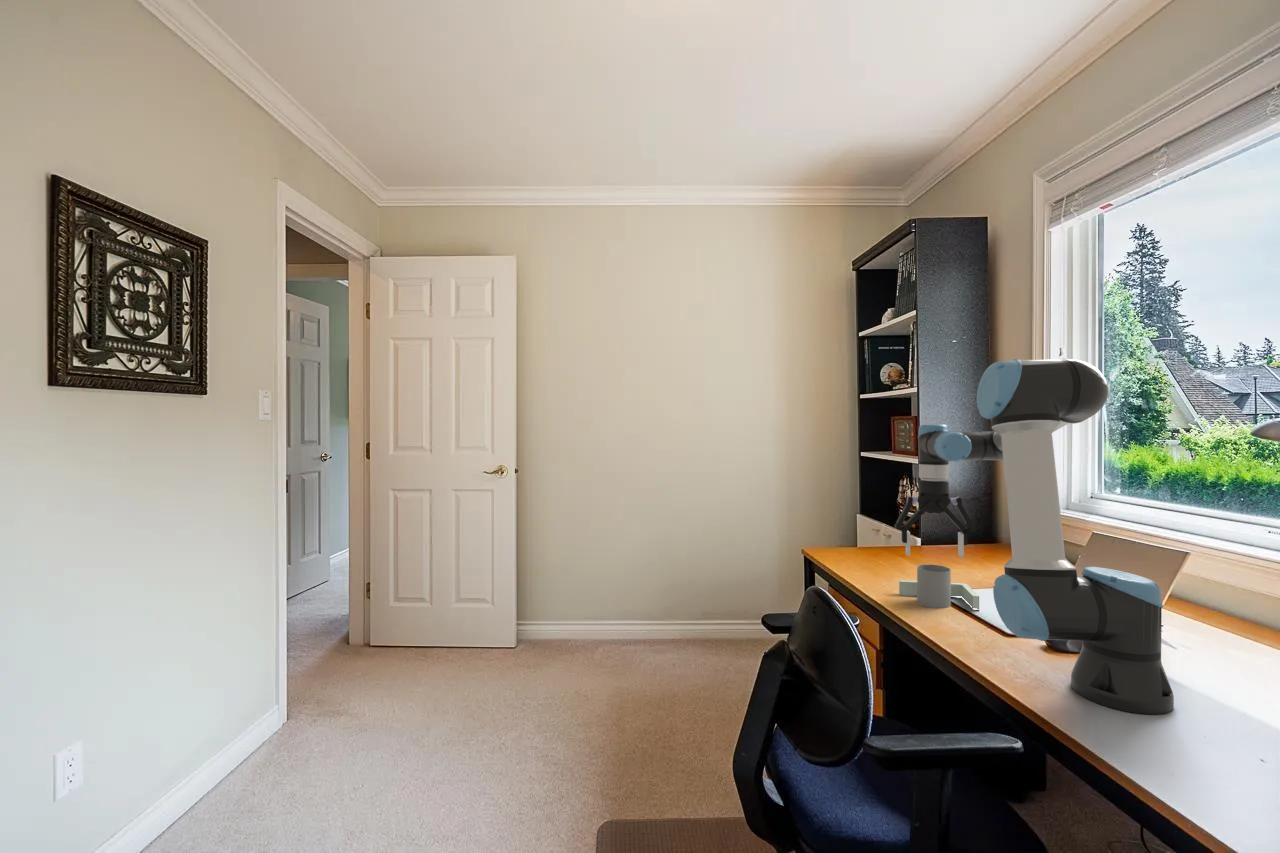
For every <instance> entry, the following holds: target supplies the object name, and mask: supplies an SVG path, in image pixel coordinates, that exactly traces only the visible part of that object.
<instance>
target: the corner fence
mask: <svg viewBox="0 0 1280 853" xmlns="http://www.w3.org/2000/svg"><path fill="white" fill-rule="evenodd" d="M898 595H899V596H909V597H917V580H904V579H903V580H902V579H899V580H898ZM951 596H962V597H963V598H964V599H965V600H966V601H967V602H968V603H969V604H970V605H971V606H972V608H977V609H979V610H980V595H979V594H978V593H977V592H975V591H974V590H973V589H972V588H971V587H970V586H969V585H968V584H967V583H962V582H961V583H960V582H951Z"/></svg>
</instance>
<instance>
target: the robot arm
mask: <svg viewBox="0 0 1280 853" xmlns="http://www.w3.org/2000/svg"><path fill="white" fill-rule="evenodd" d="M1108 397H1109V386H1108V382H1107V380H1106V378H1105V375H1103V374H1102V372H1101V371H1100V370H1099V369H1098V368H1097V367H1095V365H1092V364H1090V363H1088V362H1086V361H1082V360H1078V359H1073V358H1072V359H1071V358H1070V359H1069V358H1064V359H1018V358H1017V359H1015V358H1014V359H1013V360H1012V359H1011V360H1002V361H1000V360H999V361H996V362H995V361H994V363H992V364H990V365H989V366H988V367H987V368H986V369H985V371H984V372H983V374H982V376H981V378H980V380H979V383H978V387H977V392H976V407H977V410H978V412H979V415H980V417H981V418H984V419H987V420H990V425H991V431H989V430H988V431H986V430H985V431H980V430H979V431H956V430H955V431H949V427H948V425H947V424H941V423H940V424H936V423H934V424H921V425H919V427H918V435H917V439H918V441H917V442H918V478H919V480H918V496H917V497H914V496H910V495H908V496H906V501H905V505H904V506H903V508H902V510H901V512H900V514H899V515H898V518H897V519H896V522H895V523H894V525H893V526H894V528H895V529H897V530H900V531H901V542H902V544H905V555H907V556H908V557H909V556H911V532H910V531H909V530H910V528H911V527H912V526H913V525H914V524H915V523H916V522H918V520H919V519H920V518H921V517H922V516H923V515H924V514H925V513H928V514H933V513H935V514H942V513H944V514H945V516H947V517H948V518H949V519H950V521H951V522H952V523H953V524H954V525H955V526H956V527H957V528H958V529H959V530H960V531H958V532H957V556H958V557H959V558H965V549H964V548H965V546H967V545H968V544H969V542H968V540H969V538H968V536H969V535H968V534H969V533H972V532H975V531H976V528H975V526H974V524H973V522H972V521H971V520H972V519H970V516H969V515H968V513H967V511H966V509H965V508H964V506H963V500H962V498H961V497H959V496H955V497H950V494H949V493H950V491H949V490H950V489H949V488H950V485H949V484H950V482H949V481H948V480H947V479H949V478H950V476H949V473H950V472H949V471H950V470H949V464H950V463H949V462H960V461H1003V462H1002V463H1003V471H1004V480H1005V481H1004V482H1005V492H1006V501H1007V502H1006V503H1007V505H1006V506H1007V514H1008V515H1007V516H1008V523H1009V524H1008V526H1009V535H1010V545H1011V546H1010V547H1011V557H1010V559H1009V560H1007V561H1006V563H1004V565H1003V566H1004V567H1003V568H1004V574H1001V575H999V576H998V577H996V578H995V580H994V585H993V588H992V594H993V601H994V604H995V607H996V612H998V616H999V618H1000V619H1001V622H1002V623H1003V624H1004V626H1005V627H1006V628H1007V629H1008V631H1009V632H1010V633H1012V634H1013V635H1014V636H1016V637H1018V638H1021V639H1027V640H1037V641H1038V640H1039V641H1041V642H1044V641H1050V640H1051V641H1080V642H1081V644H1082V645H1081V649H1080V652H1079V654H1078V656H1077V659H1076V661H1075V662H1074V666H1073V668H1072V671H1071V674H1070V682H1071V683H1070V686H1071V688H1072V689H1073V691H1075V692H1076V693H1078V695H1080V696H1081V697H1083V698H1085V699H1087V700H1089V701H1092V702H1094V703H1096V704H1099V705H1102V706H1104V707H1108V708H1111V709H1115V710H1120V711H1123V712H1128V713H1135V714H1142V715H1143V714H1144V715H1162V714H1167V713H1170V712H1172V711H1173V709H1174V707H1175V705H1174V704H1175V703H1174V701H1175V700H1174V699H1175V698H1174V697H1175V696H1174V692H1173V690H1172V687H1171V685H1170V682H1169V679H1168V676H1167V673H1166V671H1165V668H1164V666H1163V663H1162V612H1163V611H1162V609H1163V608H1164V604H1163V599H1162V591H1161V587H1160V585H1158V583H1156V582H1155V581H1153V580H1152V579H1149V578H1147V577H1144V576H1142V575H1137V574H1134V573H1130V572H1126V571H1122V570H1117V569H1111V568H1106V567H1099V566H1086V567H1083V568H1082V570H1081V574H1080V575H1081V576H1078V573H1077V572H1078V571H1077V567H1076V566H1075V565H1074V564H1072V563H1071V562H1070V561H1069V560H1068V559H1067V558H1066V554H1065V552H1066V551H1065V543H1064V534H1063V524H1062V516H1061V506H1060V497H1059V496H1060V495H1059V487H1058V479H1057V478H1058V477H1057V469H1056V459H1055V449H1054V442H1053V440H1054V439H1053V433H1054V432H1056V431H1058V430H1060V429H1061V428H1063V427H1065V426H1066V425H1068V424H1071V425H1073V424H1078V423H1082V422H1084V421H1086V420H1087V419H1089V418H1090V419H1091V417H1093V416H1094V415H1096V414H1097V413H1098V412H1100V411H1101V410H1102V409H1103V408H1104V406H1105V404H1106V402H1107V400H1108ZM916 503H918V505H919V507H918V508H917V510H916V511H915V512H913V514H912V515H911V516H910V518H908V519H907V521H906V518H907V516H908V515H909V513H910V511H911V509H912V506H913V505H915V504H916ZM951 503H952V505H953V506H955V507H956V509H957V512H958V513H959V515H960V516H961V519H962V520H963V522H964V523H965V526H966V527H965V526H964V524H963V523H962V522H961V521H960V520H959V519H958V518H957V517H956V516H955V515H954V514H953V512H952V511H951V510H950V509H949V508H948V507H949V505H950V504H951ZM905 521H906V522H905ZM904 522H905V523H904Z"/></svg>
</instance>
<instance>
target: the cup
mask: <svg viewBox="0 0 1280 853" xmlns="http://www.w3.org/2000/svg"><path fill="white" fill-rule="evenodd" d="M916 568H917V569H916V571H917V572H916V574H917V575H916V577H917V578H916V581H917V596H916V598H917V600H916V602H917V604H919V605H921V606H922V607H923V606H924V607H927V608H930V609H931V608H932V609H947V608H950V607H951V606H952V598H951V583H952V581H951V580H952V578H951V577H952V576H951V574H952V573H951V572H952V570H951V568H950V567H948V566H944V565H939V564H931V563H930V564H929V563H928V564H925V563H923V564H919V565H917V567H916Z"/></svg>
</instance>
